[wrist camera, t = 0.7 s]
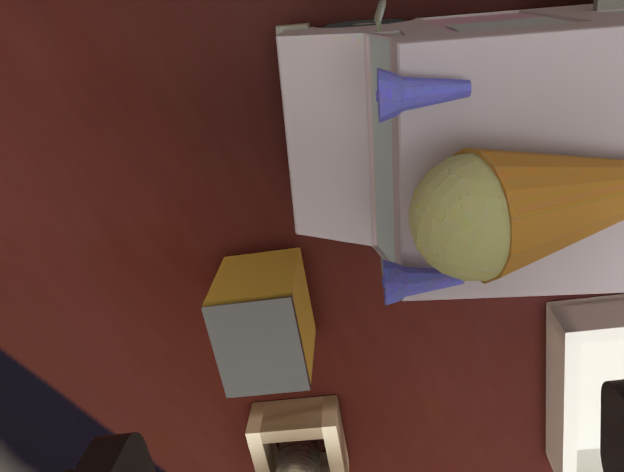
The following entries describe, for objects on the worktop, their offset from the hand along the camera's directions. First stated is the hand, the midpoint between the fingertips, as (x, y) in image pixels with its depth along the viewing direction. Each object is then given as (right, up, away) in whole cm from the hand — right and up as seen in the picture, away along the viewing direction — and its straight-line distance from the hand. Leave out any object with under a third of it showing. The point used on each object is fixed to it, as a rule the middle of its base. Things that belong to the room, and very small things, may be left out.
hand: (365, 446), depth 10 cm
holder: (-2, -8, +24) cm, 25 cm away
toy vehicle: (+8, +10, +15) cm, 20 cm away
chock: (-3, +1, +20) cm, 20 cm away
